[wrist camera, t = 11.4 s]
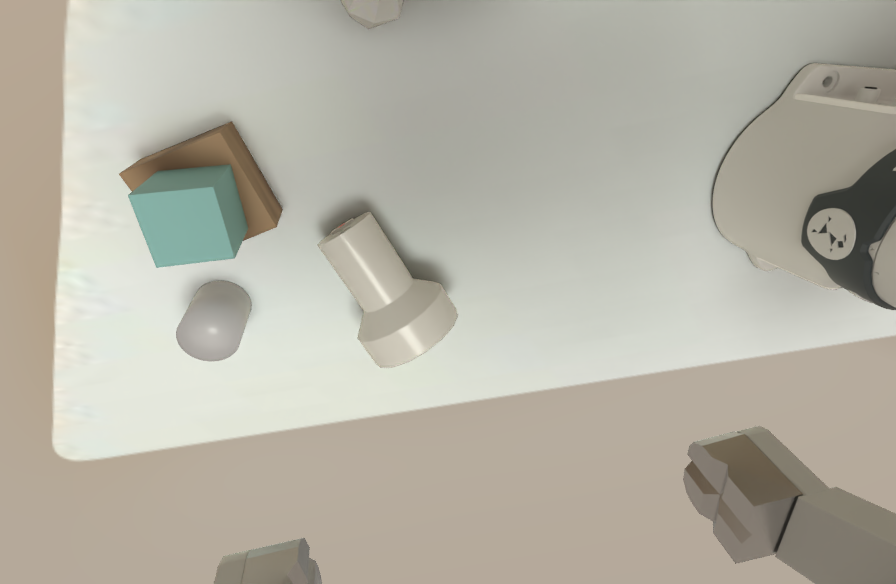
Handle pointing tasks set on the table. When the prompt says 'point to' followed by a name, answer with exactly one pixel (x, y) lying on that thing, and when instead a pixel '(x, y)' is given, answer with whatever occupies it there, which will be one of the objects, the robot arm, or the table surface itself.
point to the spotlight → (387, 294)
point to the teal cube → (190, 215)
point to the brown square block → (215, 151)
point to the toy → (373, 11)
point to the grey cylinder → (214, 321)
